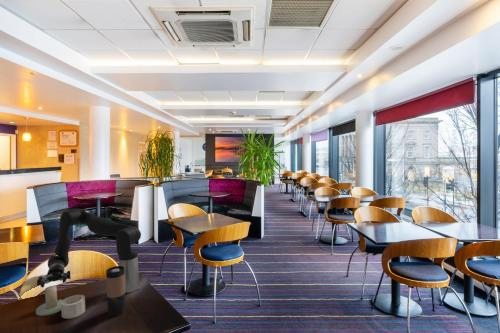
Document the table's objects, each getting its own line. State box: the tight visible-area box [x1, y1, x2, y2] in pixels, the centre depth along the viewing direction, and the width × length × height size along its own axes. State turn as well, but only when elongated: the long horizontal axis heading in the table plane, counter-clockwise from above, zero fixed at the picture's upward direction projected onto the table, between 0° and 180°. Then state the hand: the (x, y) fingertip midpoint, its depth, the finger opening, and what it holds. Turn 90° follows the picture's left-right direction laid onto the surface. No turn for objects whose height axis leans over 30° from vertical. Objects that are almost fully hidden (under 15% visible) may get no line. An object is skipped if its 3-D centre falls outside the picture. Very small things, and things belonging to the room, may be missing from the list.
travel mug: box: [105, 265, 126, 317], centre depth 125 cm, size 8×8×20 cm
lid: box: [35, 285, 64, 317], centre depth 129 cm, size 12×12×10 cm
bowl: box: [60, 294, 86, 320], centre depth 125 cm, size 9×9×6 cm
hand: (53, 283), depth 138 cm, fingers open, 8 cm apart
